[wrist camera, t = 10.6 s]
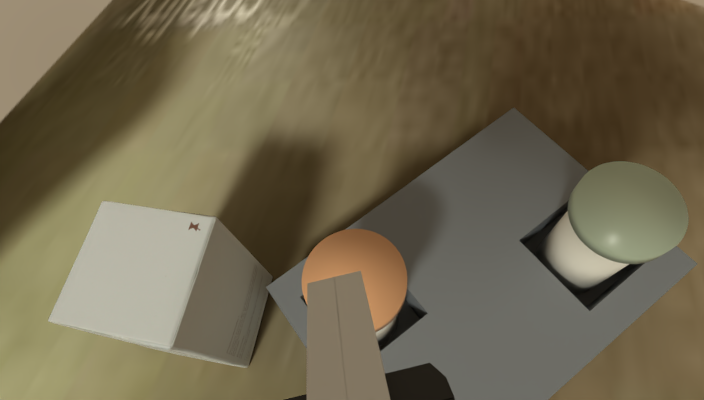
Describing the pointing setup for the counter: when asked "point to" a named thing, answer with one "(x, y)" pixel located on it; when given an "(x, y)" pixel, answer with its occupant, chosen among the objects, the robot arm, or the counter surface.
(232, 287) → the supplement box
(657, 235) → the green capped cylinder
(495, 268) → the console
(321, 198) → the counter surface
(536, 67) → the counter surface
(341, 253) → the orange capped cylinder
